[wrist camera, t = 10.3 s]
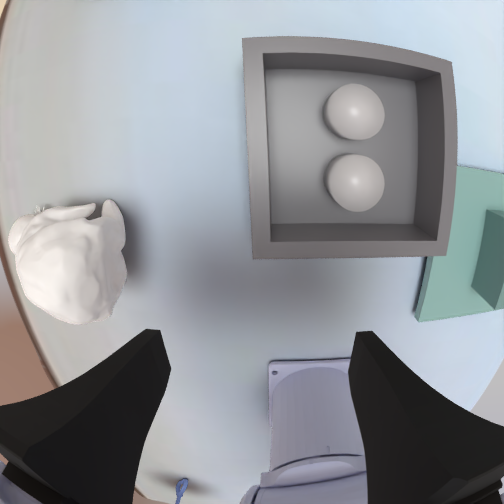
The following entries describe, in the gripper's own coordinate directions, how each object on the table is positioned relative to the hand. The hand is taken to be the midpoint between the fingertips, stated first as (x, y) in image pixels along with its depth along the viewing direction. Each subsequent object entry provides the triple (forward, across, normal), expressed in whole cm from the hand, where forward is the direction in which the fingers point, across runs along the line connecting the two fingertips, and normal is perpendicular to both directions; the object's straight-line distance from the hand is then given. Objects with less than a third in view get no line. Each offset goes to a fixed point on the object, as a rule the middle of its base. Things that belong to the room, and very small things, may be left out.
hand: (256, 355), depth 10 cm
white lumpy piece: (+10, +14, -2) cm, 17 cm away
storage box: (+9, -5, -7) cm, 13 cm away
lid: (+9, -17, -1) cm, 19 cm away
